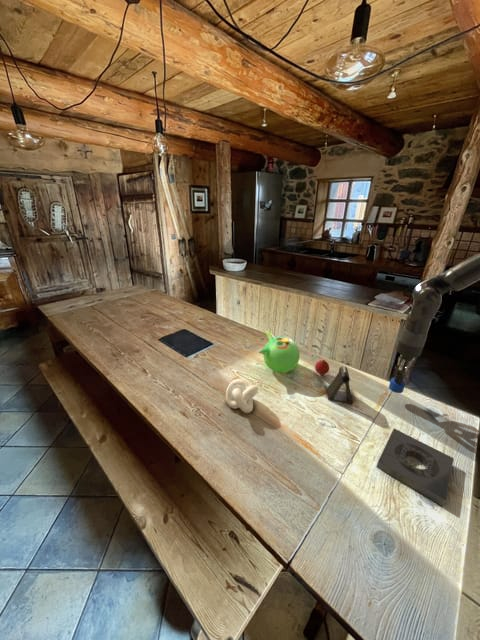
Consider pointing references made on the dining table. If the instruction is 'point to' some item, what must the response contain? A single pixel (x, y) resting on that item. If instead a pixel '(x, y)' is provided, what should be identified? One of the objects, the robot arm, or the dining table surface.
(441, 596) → the dining table surface
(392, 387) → the sink plug
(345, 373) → the phone stand
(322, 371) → the strawberry
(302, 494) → the dining table surface
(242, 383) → the cream knot sculpture
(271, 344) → the toy bird
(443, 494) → the dark rectangular plate
